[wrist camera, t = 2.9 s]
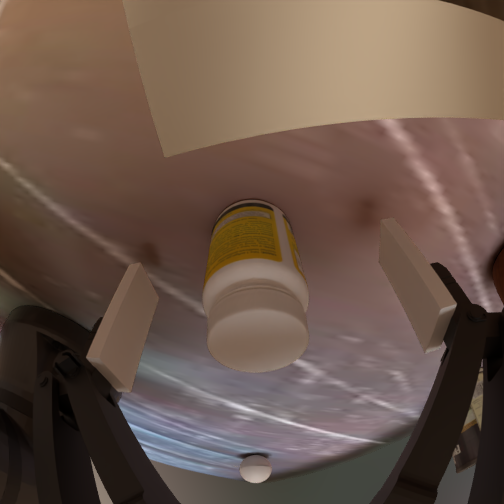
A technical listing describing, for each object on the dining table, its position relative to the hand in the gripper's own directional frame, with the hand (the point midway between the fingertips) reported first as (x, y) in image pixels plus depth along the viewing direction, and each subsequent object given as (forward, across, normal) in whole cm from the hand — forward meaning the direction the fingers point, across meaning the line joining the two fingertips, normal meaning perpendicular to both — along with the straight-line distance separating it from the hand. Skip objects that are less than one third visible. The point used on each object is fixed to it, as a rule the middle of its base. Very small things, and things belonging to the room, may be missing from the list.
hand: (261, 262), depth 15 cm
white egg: (+3, -10, -43) cm, 44 cm away
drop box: (+3, +6, +14) cm, 15 cm away
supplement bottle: (+3, 0, 0) cm, 3 cm away
